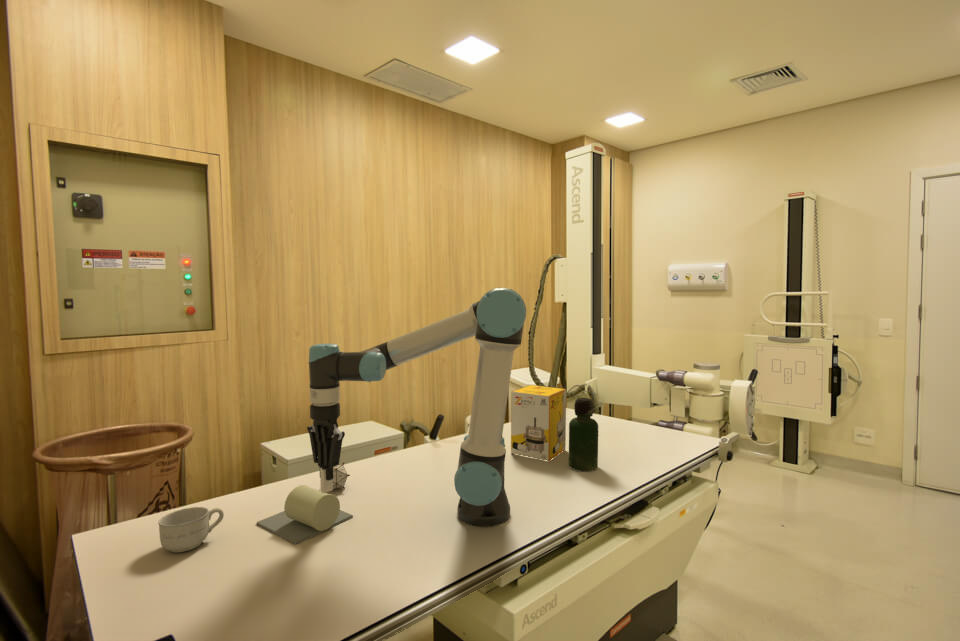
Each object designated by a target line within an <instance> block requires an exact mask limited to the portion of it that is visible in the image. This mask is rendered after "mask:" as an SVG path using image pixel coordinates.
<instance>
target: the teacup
mask: <svg viewBox="0 0 960 641" xmlns="http://www.w3.org/2000/svg"><path fill="white" fill-rule="evenodd" d="M215 513H218V514H219V516H218V518H217V519H216V520H215V521H214V522H213V523H211V524H210V521H211V517H212V515H214V514H215ZM224 516H225V515H224V511H223V510H222V509H221V508H219V507H214V508H212V509H211V510H209V508H207V507H203V506H193V507H188V508H187V507H186V508H182V509H179V510H175V511H172V512H170V513H168V514H165V515H164V516H162V517H161V518H160V519H159V520H158V522H157V523H158V529H159V539H160V540H159V542H160V544H161V546H162V548H163V549H165V550H167V551H169V552H172V553H183V552H184V553H185V552H187V551H190V550H193V549H196V548H197V547H199V546H200V545H202V543H203V542H204V541H205V539H206V538H207V537H208V535H209V534H210V533H212V531H213V529H215V527H217V526H219V524H220V523H221V522H222V520H223V519H224Z"/></svg>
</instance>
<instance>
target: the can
mask: <svg viewBox="0 0 960 641" xmlns="http://www.w3.org/2000/svg"><path fill="white" fill-rule="evenodd" d="M288 493H289V494H288V495H287V497H286V499H285V501H284V502H285V503H284V506H283V507H284V510H283V511H285V514H286V516H287V517H288V518H290V519H293V520H296V521H298V522H301V523H303V524H306V525H308V526H311V527H313V528H315V529H316V530H318V531H323V532H324V530H325V531H327V530H329V529H330V528H329V527H331V526H332V525H333V523H334V522H335V521H336V519H337V517H338V514H339V510H341V504H340V500H339V498H338V496H336V495H335V494H330V493H328V492H326V493H322V492H321V490H320V489H315V488H313V487H310V486H308V485H305V484H303V485H301V484H300V485H298V486H296V487H294V488H293V489H292V490H291V491H290V492H288ZM328 528H329V529H328ZM331 528H332V527H331ZM326 529H327V530H326Z"/></svg>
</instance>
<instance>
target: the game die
mask: <svg viewBox="0 0 960 641" xmlns="http://www.w3.org/2000/svg"><path fill="white" fill-rule="evenodd" d="M350 476H351V474H349V473H348V472H347V470H346V469H345V462H343V463H342V464H339V465H337V466H335V467H333V490H334V489H341V488H342V489H343V490H346V487H345V486H346V485H345V484H346V481H347V478H348V477H350Z"/></svg>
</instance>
